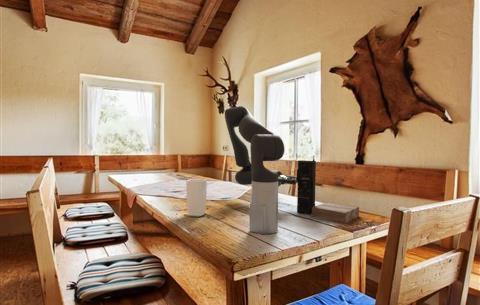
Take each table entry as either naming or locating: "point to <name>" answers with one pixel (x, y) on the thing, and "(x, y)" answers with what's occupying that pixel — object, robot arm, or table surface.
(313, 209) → the walnut stand
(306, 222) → the table surface
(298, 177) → the portable radio
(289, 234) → the table surface
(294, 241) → the table surface
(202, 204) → the cup
